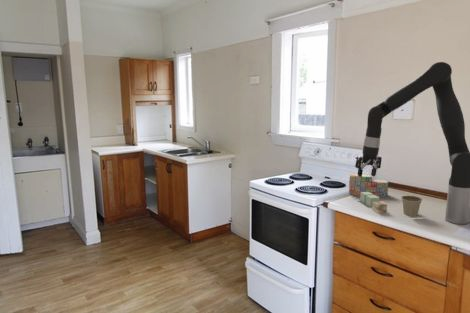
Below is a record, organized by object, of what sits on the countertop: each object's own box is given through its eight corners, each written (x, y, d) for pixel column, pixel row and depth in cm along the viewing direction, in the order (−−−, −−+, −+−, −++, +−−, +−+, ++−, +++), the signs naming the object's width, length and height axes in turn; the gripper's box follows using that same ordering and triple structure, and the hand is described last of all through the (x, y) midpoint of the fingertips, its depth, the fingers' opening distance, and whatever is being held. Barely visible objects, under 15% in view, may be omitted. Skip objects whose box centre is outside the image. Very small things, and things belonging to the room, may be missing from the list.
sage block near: (374, 203, 184) (374, 195, 183) (379, 206, 179) (379, 197, 178) (365, 204, 183) (366, 195, 182) (370, 207, 178) (370, 198, 177)
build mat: (374, 201, 191) (374, 200, 190) (385, 207, 179) (385, 206, 179) (357, 201, 189) (357, 200, 189) (367, 208, 178) (368, 207, 178)
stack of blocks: (386, 195, 202) (387, 175, 200) (387, 198, 196) (388, 177, 194) (348, 192, 208) (349, 173, 206) (349, 195, 203) (350, 175, 200)
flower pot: (409, 219, 162) (411, 201, 160) (395, 212, 171) (396, 196, 169) (425, 217, 164) (427, 200, 163) (410, 211, 173) (412, 194, 172)
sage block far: (368, 200, 190) (368, 191, 189) (372, 203, 185) (373, 194, 184) (360, 200, 190) (360, 192, 189) (364, 203, 185) (364, 194, 184)
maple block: (381, 210, 175) (381, 201, 174) (386, 213, 170) (387, 204, 169) (372, 210, 174) (372, 201, 173) (377, 214, 169) (377, 204, 169)
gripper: (365, 146, 165) (360, 178, 169) (387, 147, 170) (382, 177, 173) (355, 144, 172) (350, 174, 175) (377, 144, 177) (372, 173, 180)
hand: (366, 176), depth 174 cm, fingers open, 8 cm apart
